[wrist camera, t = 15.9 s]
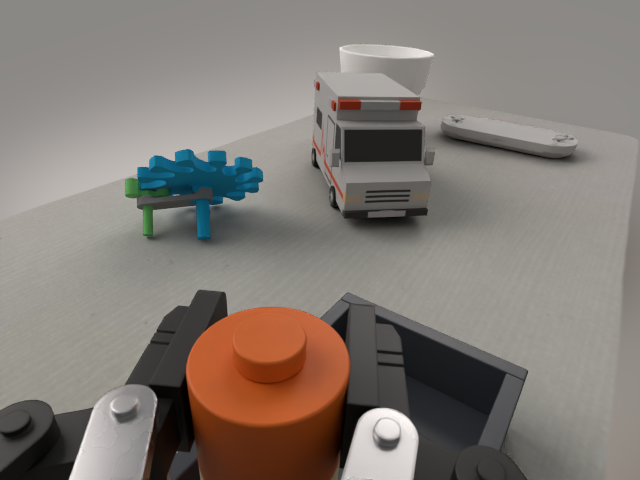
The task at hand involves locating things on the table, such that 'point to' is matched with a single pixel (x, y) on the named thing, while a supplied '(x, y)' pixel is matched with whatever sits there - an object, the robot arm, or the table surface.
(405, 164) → the toy vehicle
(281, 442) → the orange cylinder
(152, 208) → the gear
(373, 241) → the table surface
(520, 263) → the table surface
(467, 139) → the game console
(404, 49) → the cup
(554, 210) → the table surface
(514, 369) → the bin
